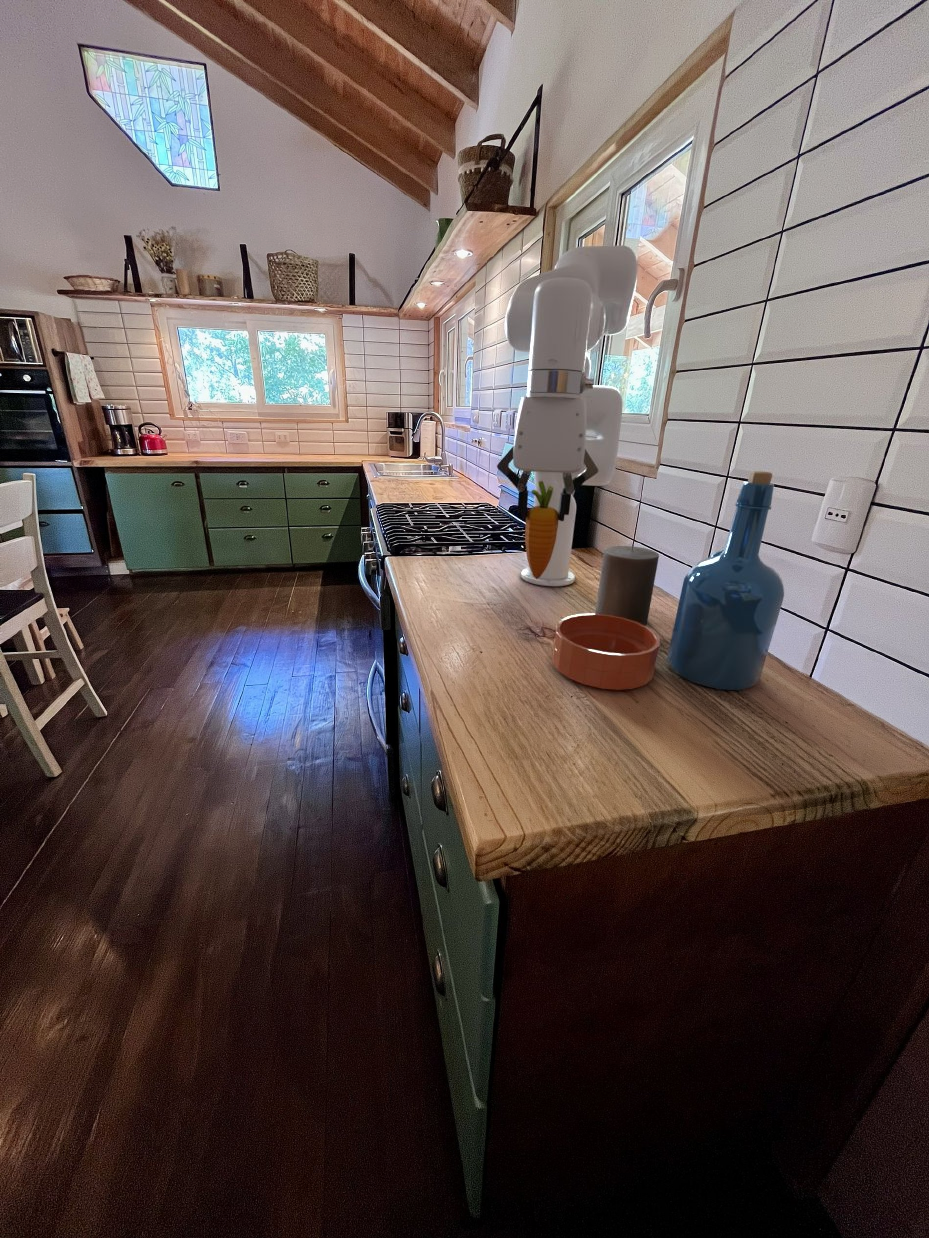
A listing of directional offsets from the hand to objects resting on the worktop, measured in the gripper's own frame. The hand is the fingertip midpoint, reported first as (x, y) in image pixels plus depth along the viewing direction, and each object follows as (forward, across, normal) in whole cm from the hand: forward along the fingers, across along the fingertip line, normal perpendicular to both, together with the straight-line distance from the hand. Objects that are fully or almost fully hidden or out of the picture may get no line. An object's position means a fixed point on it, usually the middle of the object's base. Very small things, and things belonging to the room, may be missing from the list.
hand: (542, 517), depth 76 cm
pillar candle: (+22, -17, -14) cm, 31 cm away
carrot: (+10, 0, 0) cm, 10 cm away
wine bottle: (+22, -28, +4) cm, 36 cm away
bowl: (+22, -11, +6) cm, 25 cm away
